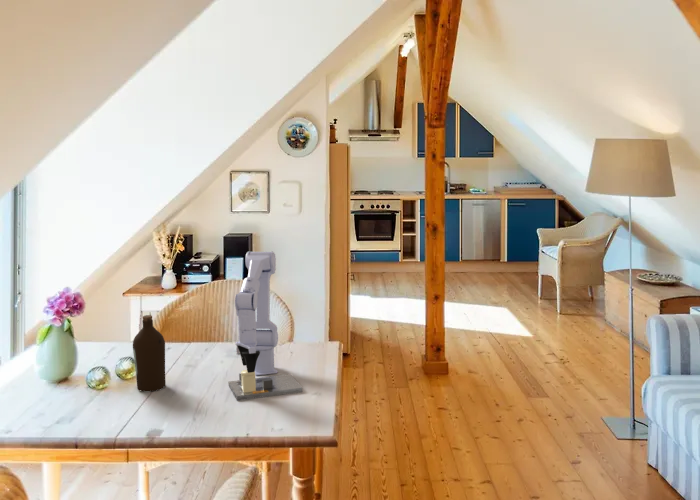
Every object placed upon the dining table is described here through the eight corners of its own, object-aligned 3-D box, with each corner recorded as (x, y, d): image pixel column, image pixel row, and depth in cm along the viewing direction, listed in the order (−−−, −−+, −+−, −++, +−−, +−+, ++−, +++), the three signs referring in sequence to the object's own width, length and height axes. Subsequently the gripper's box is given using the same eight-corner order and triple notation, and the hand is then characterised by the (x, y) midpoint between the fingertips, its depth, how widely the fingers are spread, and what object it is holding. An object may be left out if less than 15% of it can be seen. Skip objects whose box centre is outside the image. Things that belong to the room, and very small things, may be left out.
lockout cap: (240, 388, 251) (239, 370, 250) (254, 386, 252) (253, 368, 251) (242, 393, 246) (242, 374, 245) (256, 391, 248) (256, 373, 247)
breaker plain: (239, 381, 257) (239, 373, 257) (248, 380, 258) (247, 372, 258) (240, 383, 255) (240, 375, 254) (249, 382, 256) (249, 374, 255)
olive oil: (170, 381, 263) (166, 312, 259) (163, 392, 253) (159, 319, 249) (139, 382, 263) (135, 312, 259) (131, 393, 252) (127, 320, 248)
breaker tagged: (262, 386, 252) (261, 378, 251) (270, 385, 253) (270, 377, 252) (263, 389, 249) (263, 381, 249) (272, 388, 250) (272, 380, 250)
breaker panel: (228, 385, 258) (228, 381, 258) (290, 378, 265) (290, 373, 265) (237, 400, 244) (236, 395, 244) (302, 391, 251) (302, 387, 251)
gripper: (230, 324, 251) (232, 363, 253) (239, 335, 238) (241, 376, 240) (251, 322, 253) (253, 361, 256) (261, 333, 240) (262, 374, 242)
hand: (248, 368), depth 248 cm, fingers open, 7 cm apart
